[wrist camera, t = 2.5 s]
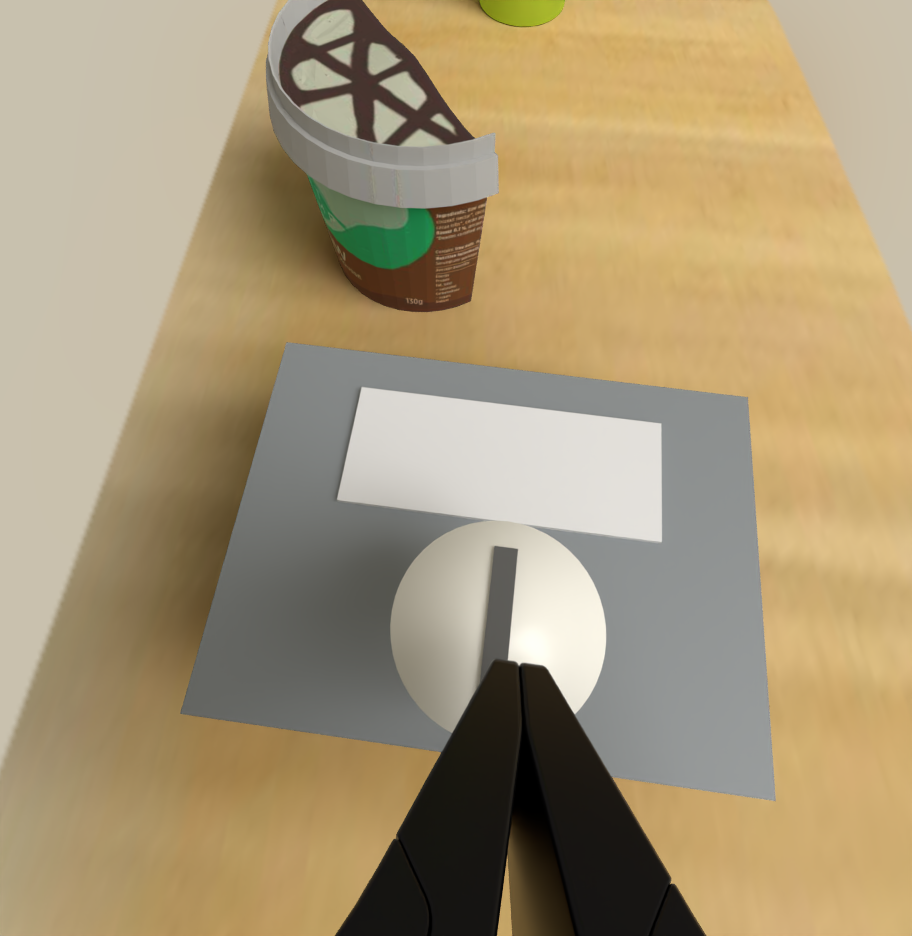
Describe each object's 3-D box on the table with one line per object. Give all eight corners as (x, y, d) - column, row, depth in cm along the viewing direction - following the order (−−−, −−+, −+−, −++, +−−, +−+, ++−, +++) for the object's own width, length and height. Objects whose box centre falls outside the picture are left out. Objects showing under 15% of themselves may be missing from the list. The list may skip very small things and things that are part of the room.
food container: (278, 206, 30) (203, -1, 21) (376, 167, 32) (346, -46, 22) (378, 373, 27) (340, 210, 17) (485, 322, 28) (503, 143, 19)
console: (672, 761, 21) (780, 802, 14) (262, 702, 21) (176, 714, 15) (669, 470, 25) (750, 394, 18) (328, 427, 26) (285, 339, 19)
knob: (548, 731, 16) (604, 762, 10) (399, 709, 16) (370, 728, 10) (558, 580, 17) (610, 533, 12) (422, 562, 18) (408, 506, 12)
